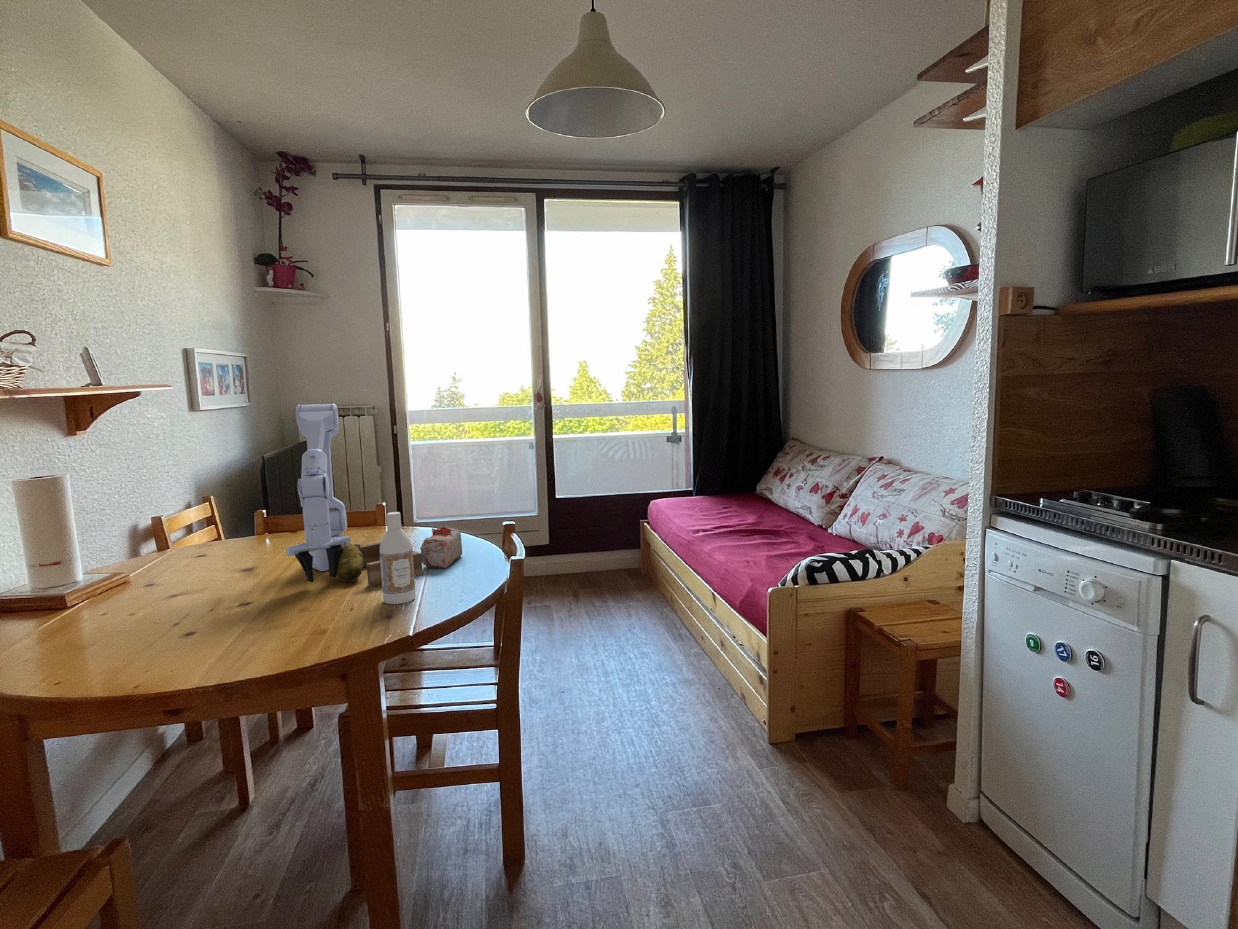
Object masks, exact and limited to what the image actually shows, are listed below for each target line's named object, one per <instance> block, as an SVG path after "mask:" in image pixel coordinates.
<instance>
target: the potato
mask: <svg viewBox="0 0 1238 929" xmlns="http://www.w3.org/2000/svg"><path fill="white" fill-rule="evenodd" d="M341 547H343V553H342V555H341V557H340V560H339V562H338V566H337V571H336V577H335V578H337V580H339V581H343V582H354V581H356V580H358V579H359V578H360V577H361V575H362V570H363V568H364V567H363V555H362V553H361V552H360V550H359V548H358V546H356V545H354V543H353V544H352V543H350V545H342V546H341Z"/></svg>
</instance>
